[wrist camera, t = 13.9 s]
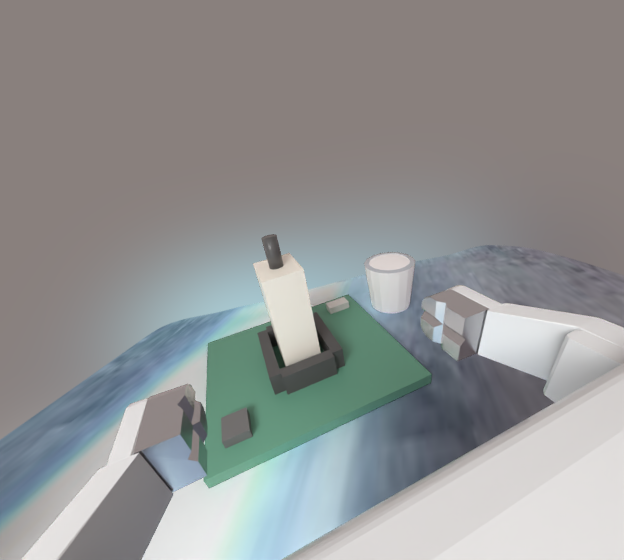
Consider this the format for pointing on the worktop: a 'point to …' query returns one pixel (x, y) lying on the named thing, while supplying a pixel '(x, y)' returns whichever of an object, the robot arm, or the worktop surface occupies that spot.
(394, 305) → the white cup
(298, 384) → the circuit board
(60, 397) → the worktop surface
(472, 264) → the worktop surface
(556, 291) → the worktop surface
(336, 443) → the worktop surface
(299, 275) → the plug
